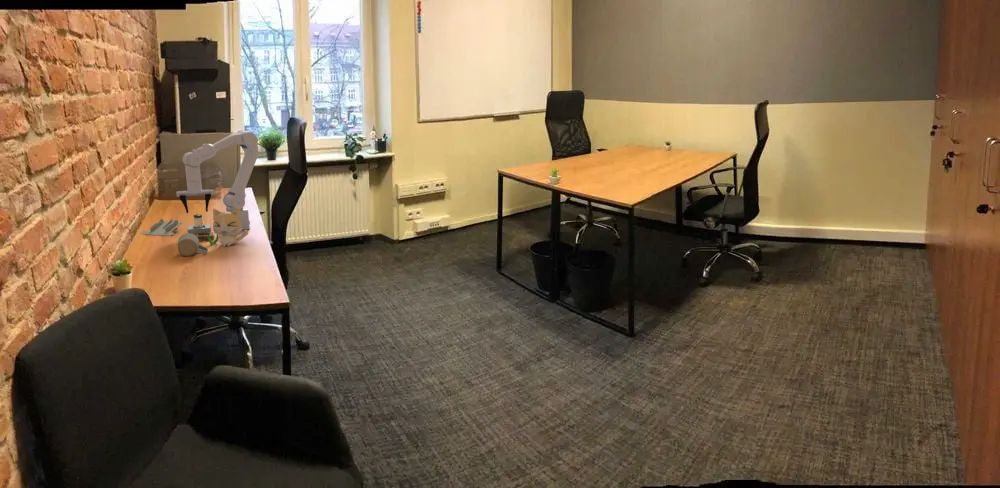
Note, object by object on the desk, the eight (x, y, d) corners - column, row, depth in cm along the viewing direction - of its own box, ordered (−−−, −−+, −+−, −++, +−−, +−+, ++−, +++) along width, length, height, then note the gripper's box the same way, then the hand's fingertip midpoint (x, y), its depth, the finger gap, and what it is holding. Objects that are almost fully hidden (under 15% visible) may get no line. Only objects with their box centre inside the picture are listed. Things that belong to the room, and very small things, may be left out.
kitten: (204, 247, 281) (201, 211, 277) (212, 241, 290) (209, 206, 287) (243, 247, 282) (239, 211, 278) (249, 241, 292) (246, 206, 288)
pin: (205, 233, 304) (203, 214, 302) (202, 235, 300) (200, 215, 298) (197, 233, 303) (195, 214, 301) (194, 235, 300) (192, 216, 298)
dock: (211, 231, 307) (210, 224, 306) (211, 235, 300) (210, 228, 299) (189, 233, 304) (188, 225, 303) (188, 237, 297) (187, 229, 296)
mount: (213, 236, 299) (213, 231, 299) (213, 239, 293) (212, 235, 293) (195, 237, 297) (195, 233, 297) (195, 241, 291) (194, 236, 290)
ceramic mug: (177, 257, 266) (176, 238, 264) (179, 252, 273) (177, 233, 271) (207, 255, 270) (206, 236, 268) (208, 250, 277) (206, 231, 275)
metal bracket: (156, 216, 312) (186, 217, 309) (160, 227, 315) (190, 229, 312) (136, 232, 300) (167, 233, 297) (140, 243, 303) (171, 245, 300)
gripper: (212, 178, 303) (215, 209, 307) (175, 180, 298) (179, 211, 301) (212, 180, 297) (215, 212, 300) (174, 182, 292) (178, 214, 295)
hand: (197, 212), depth 300 cm, fingers open, 7 cm apart
